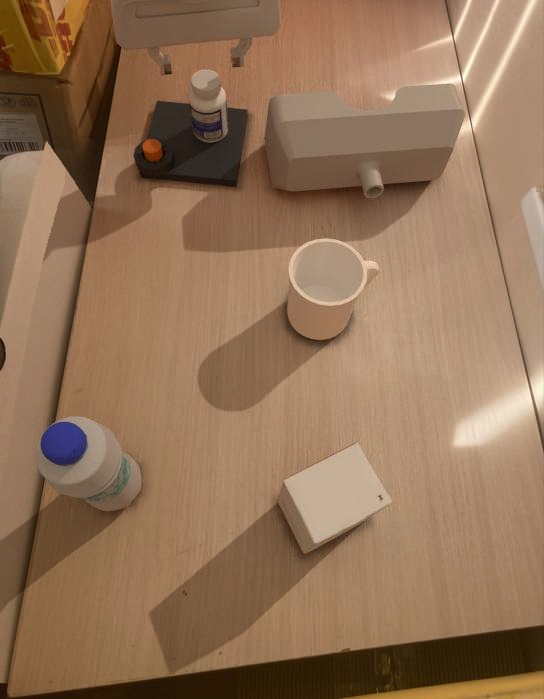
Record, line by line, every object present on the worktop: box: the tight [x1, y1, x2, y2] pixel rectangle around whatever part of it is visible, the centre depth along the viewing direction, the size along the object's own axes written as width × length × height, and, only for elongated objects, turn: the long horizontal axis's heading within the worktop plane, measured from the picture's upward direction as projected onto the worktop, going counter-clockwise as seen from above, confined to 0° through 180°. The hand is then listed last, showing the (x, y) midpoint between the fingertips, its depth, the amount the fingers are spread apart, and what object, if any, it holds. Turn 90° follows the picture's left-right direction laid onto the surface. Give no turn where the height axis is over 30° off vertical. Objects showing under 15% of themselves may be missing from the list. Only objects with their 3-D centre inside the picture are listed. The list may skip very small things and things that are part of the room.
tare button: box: [142, 139, 163, 162], centre depth 76 cm, size 3×3×2 cm
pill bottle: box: [188, 69, 228, 143], centre depth 76 cm, size 5×5×9 cm
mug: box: [286, 237, 380, 342], centre depth 65 cm, size 11×9×10 cm
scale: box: [132, 100, 249, 188], centre depth 79 cm, size 15×15×3 cm
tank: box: [264, 82, 466, 199], centre depth 74 cm, size 25×16×12 cm, turn 97°
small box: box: [277, 442, 393, 555], centre depth 54 cm, size 8×6×13 cm
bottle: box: [34, 415, 142, 512], centre depth 51 cm, size 7×7×20 cm
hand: (202, 68), depth 71 cm, fingers open, 8 cm apart
